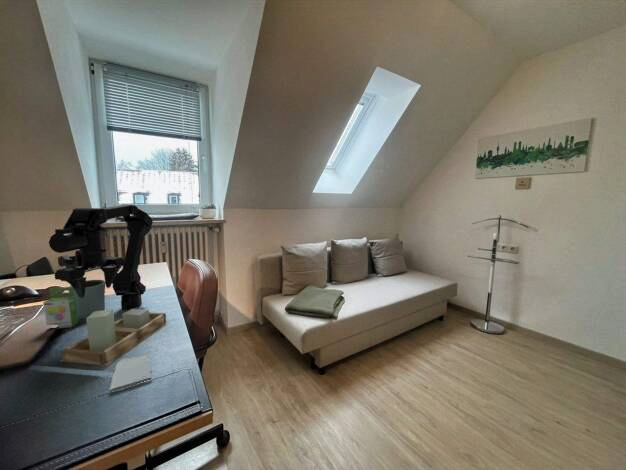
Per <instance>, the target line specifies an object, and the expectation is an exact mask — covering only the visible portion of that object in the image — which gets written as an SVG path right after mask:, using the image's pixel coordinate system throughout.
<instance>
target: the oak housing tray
mask: <svg viewBox="0 0 626 470" xmlns="http://www.w3.org/2000/svg"><path fill="white" fill-rule="evenodd" d="M166 314H167V313H164V312H150V311H149V320H150V322H149V323H147V324H145V325H144V326H142V327H141V328H139V329H133V328H124V325H123V317H121V318H119V319H118V320H115V321H114V322H115V333H116V344H114V345H113V346H111V347H109V348H108V349H106V350H105V351H103V352H100V351H90V347H89V338H88V336H86V337H84V338H82V339H81V340H79V341H76V342H75V343H73V344H72V345H70V346H68V347H66V348H64V349H63V350H61V357H62V358H61V360H59V362H64V363H65V362H66V363H67V362H68V363H78V364H89V365H99V366H100V365H101V366H108V365H110V364H112V363H113V362H115V361H116V360H117V359H118V358H120V357H121V356H123V355H124V354H125V353H127V352H128V351H130V350H132V349H133V348H134V347H135V346H137V345H138V344H140V343H141V342H142V341H144V340H146V339H147V338H148V337H149V336H151V335H152V334H154V333H156V332H157V331H158V330H159V329H161V328H162V327H164V326H165V325H166V324H168V323H169V321H168V320H167V315H166Z"/></svg>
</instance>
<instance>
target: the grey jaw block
mask: <svg viewBox="0 0 626 470" xmlns="http://www.w3.org/2000/svg"><path fill="white" fill-rule="evenodd" d="M149 312H150V311H149V309H144V308H134V309H130V310H126V312H124V313H122V318H123V325H124V328H133V329H139V328H141V327H142V326H144V325H145V324H147V323H149V322H150V320H149Z"/></svg>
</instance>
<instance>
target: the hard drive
mask: <svg viewBox="0 0 626 470" xmlns="http://www.w3.org/2000/svg"><path fill="white" fill-rule="evenodd" d="M152 375H153V371H150V370H149V355H148V354H144V355H142V356H137V357H126V358H122V359H120V360H119V362H117V364H116V367H115V371H113V373H112V377H111V381H110V385H109V389H108V390H109V392H112V391H116V390H119V389H122V388H126V387H129V386H133V385H136V384H138V383H141V382H144V381H147V380H151V379H152V380H153V376H152ZM109 392H108V393H109Z"/></svg>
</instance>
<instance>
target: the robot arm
mask: <svg viewBox="0 0 626 470" xmlns="http://www.w3.org/2000/svg"><path fill="white" fill-rule="evenodd" d="M120 217H122V220H123V221H124V222H125V223H126V229H127V231H128V234H129V238H128V241H127V242H128V243H127V247H126V251H125V255H124V258H122V256H121V257H118V256H109V257H106V258H104V253H105V252H107V249H106V248H103V242H102V233H103V232H106V231H107V229H106V228H105V227H103V226H102V225H103V224H106V223H107V222H108V221H109V220H111V219H116V218H120ZM153 224H154V223H153V219H152V217H151V216H150V215H149V214H148V213H147V212H145V211H143V210H141V209H140V208H139V207H138V206H137V205H135V204H128V203H127V204H126V203H124V204H123V203H122V204H120V205H114V206H108V207H102V208H98V207H95V208H94V207H93V208H92V207H91V208H90V207H76V208H74V209H72V212H71V213H70V215H69V217H68V219H67V221H66V222H65V223H64V226H63V228H57V229H56V228H55V229H54V231H55V232H54V234H52V235H51V236H50V238H49V241H48V245H49V248H50V249H51V250H52V251H54V252H55V253H59V254H62V253H67V252H72V251H75V252H74V254H75V255H73V256H69V254H66V255H60V256H58V257H57V263H58V266H59V267H61V269H57V270H55V272H54V279H55V280H60V281H61V282H66V283H68V284H69V286H72V287H73V288H74V290H75V291H76V293H77V294H78V296H79V297H80V298H83V297H84V294H85V286H86V281H87V277H85V274H86V273H89V272H92V271H95V270H99V269H100V270H101V271H102V272H103V276H104V281H105V288H107V289H110V288H111V287H112V289H113V291H114V294H115V295H116V296H117V297H118V296H120V298H121V299H120V303H121V304H120V306H121V311H129V310H131V309H138V308H139V307H140V306H141V305H142V304H143V302H142V295H144V294H145V292H146V289H147V286H146V285H145V284H143V283H142V282H141V279H142V278H141V275H140V273H139V270H138V269H139V265H140V260H141V254H142V250H143V245H144V241H145V237H146V236H147V235H148V233H150V232H151V229H152V226H153ZM62 267H63V268H62Z"/></svg>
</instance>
